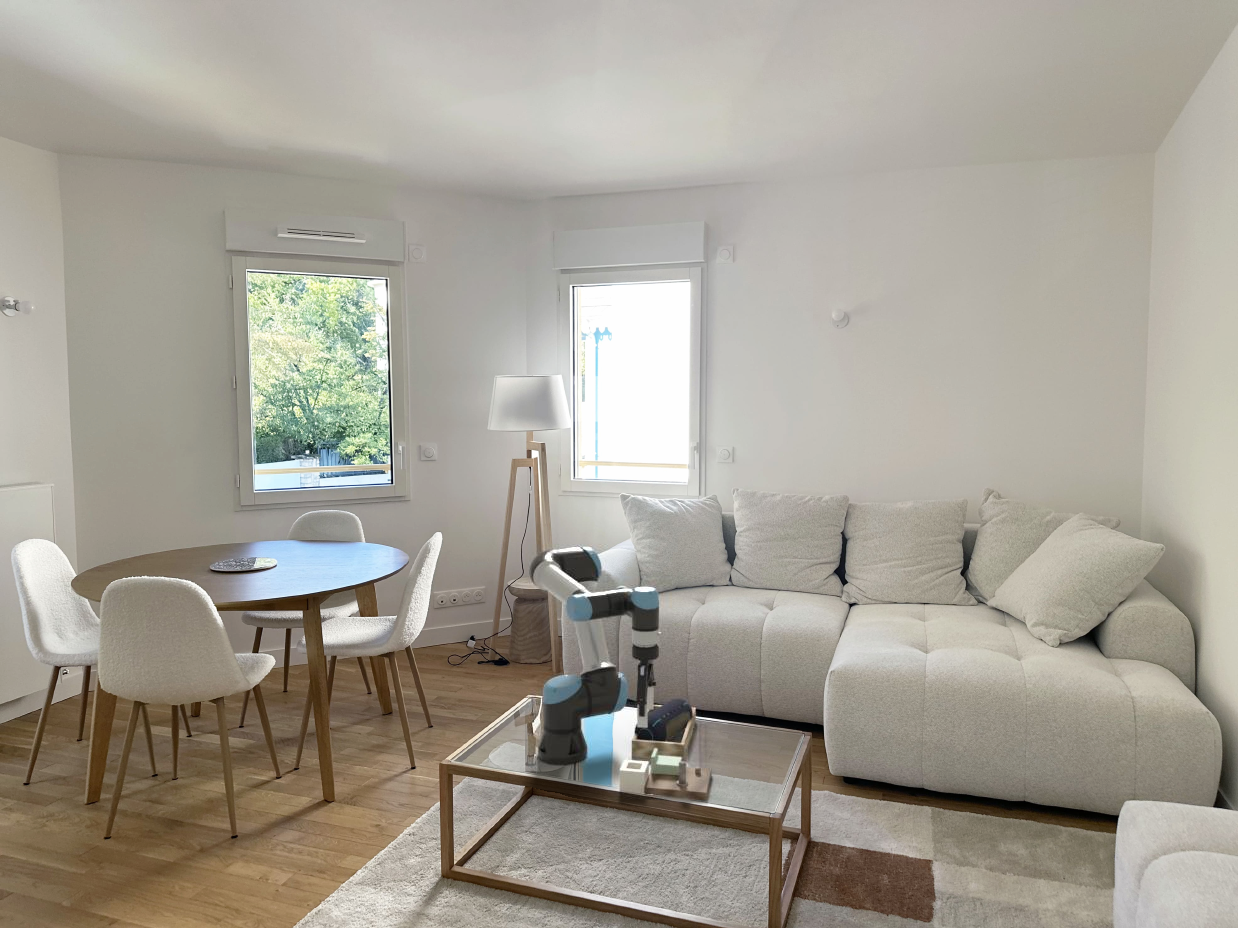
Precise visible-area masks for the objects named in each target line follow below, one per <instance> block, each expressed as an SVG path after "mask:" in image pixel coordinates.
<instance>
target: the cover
mask: <svg viewBox="0 0 1238 928" xmlns="http://www.w3.org/2000/svg"><path fill="white" fill-rule="evenodd" d="M680 761H682V757H674V756H661V755H658V749H657V748H654V751H653V753H652V756H651V758H650V771H651V773H654V774H666V775H678V776H679V762H680Z"/></svg>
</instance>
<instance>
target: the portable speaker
mask: <svg viewBox="0 0 1238 928" xmlns="http://www.w3.org/2000/svg"><path fill="white" fill-rule="evenodd" d="M661 705H662V706H660V707H659V708H657V709H655V710H654V711H652V712H650V713H649V714H647V721H648V727H647V728H643V727H637V723H636V725H635V727H634V731H633V733H634V734H635V733H637V734H638V740H649V741H662V742H668V741H669V740H671V739H672V738H673V737H675V736H676V735H679V733H680V732H682V731H683V730H686V727H687V724H688V721H689V719H691V718H692V717H693V712H692V708H691V707H692V706H691V704H690V703H689V702H688V701H687V700H685V699H683V698H673V699H670V700H669V701H667V702H666V703H664V704H661Z"/></svg>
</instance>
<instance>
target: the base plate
mask: <svg viewBox="0 0 1238 928" xmlns="http://www.w3.org/2000/svg"><path fill="white" fill-rule="evenodd" d="M711 779H712V768H708V767H707V768H705V767H700V766H695V767H692V766H687V762H686V761H685V760H684V761H680V762H679V776H678V775H666V774H654V773H651V770H650V771H649V776H648V779H647V781H646V784H645V787H644V793H643V794H644V795H647V794H653V795H652V796H658V795H659V797H660V796H662V797H670V798H682V799H683V798H684V799H691V800H693V799H694V800H704V801H705V800H707V799H708V793H709V788H710V784H711Z"/></svg>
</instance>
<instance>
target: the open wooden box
mask: <svg viewBox="0 0 1238 928" xmlns="http://www.w3.org/2000/svg"><path fill="white" fill-rule="evenodd" d="M662 705H663V704H654V709H653V710H652V709H647V714H649V713H650V712H652V711H654V710H655V709H657V708H659V707H660V706H662ZM691 708H692V712H693V717H692V718H691V719H689V721H688V724H687V727H686V728H685V729H684V730H685V731H684V733H683V737H682V739H681V742H675V741H674V742H673V741H666V742H662V741H649V740H638V734H637V733H634V735H633V736H632V738H631V757H633V758H646V759H647V758H648V759H651V756H652V753H653V751H654V748H657V749H658V755H661V756H674V757H682V761H684V762H685V760H686V756H687V752H688V749H689V745H690V742H691V740H692V737H693V733H694V730H693V728H694V729H695V726H694V724H695V725H696V723H695V721H696V722H697V720H696V719H697V717H696V716H697V711H696V709H697V708H696V707H692V706H691ZM695 718H696V719H695ZM692 732H693V733H692Z"/></svg>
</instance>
